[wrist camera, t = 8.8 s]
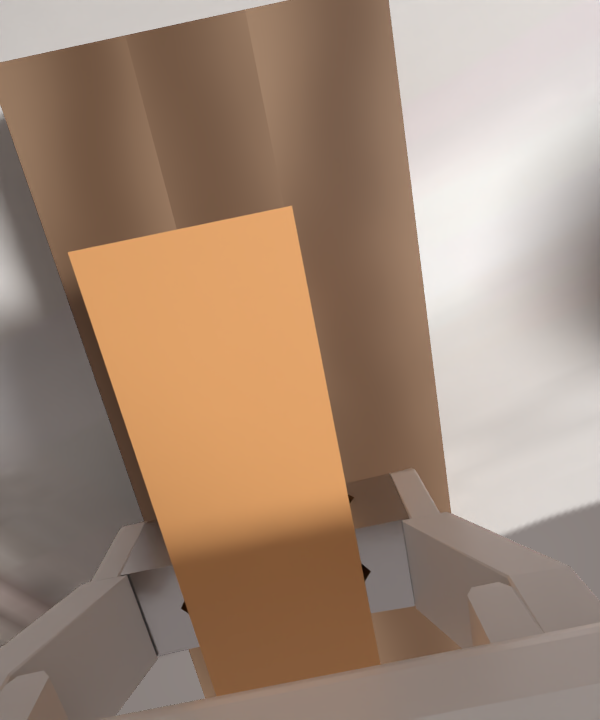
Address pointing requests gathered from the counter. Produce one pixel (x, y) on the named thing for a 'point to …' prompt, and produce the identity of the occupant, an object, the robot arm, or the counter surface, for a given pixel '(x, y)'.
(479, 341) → the counter surface
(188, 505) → the orange piece
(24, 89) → the rail
